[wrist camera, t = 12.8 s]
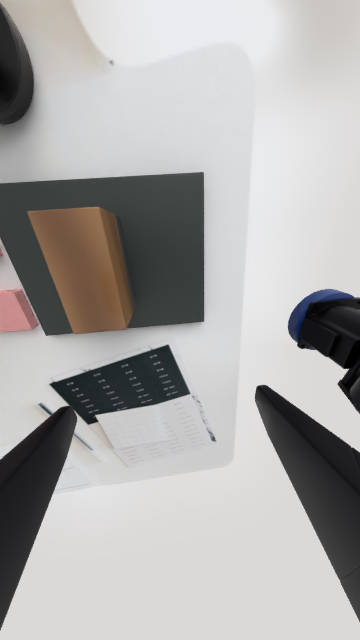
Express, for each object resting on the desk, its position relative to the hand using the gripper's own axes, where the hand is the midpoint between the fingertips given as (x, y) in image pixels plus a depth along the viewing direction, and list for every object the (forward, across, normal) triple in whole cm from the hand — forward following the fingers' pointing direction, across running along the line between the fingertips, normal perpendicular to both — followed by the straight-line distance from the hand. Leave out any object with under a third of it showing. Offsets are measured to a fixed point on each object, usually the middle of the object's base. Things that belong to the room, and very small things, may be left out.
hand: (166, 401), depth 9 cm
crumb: (+12, +16, -1) cm, 20 cm away
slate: (+12, +4, -5) cm, 14 cm away
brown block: (+11, +5, -5) cm, 13 cm away
